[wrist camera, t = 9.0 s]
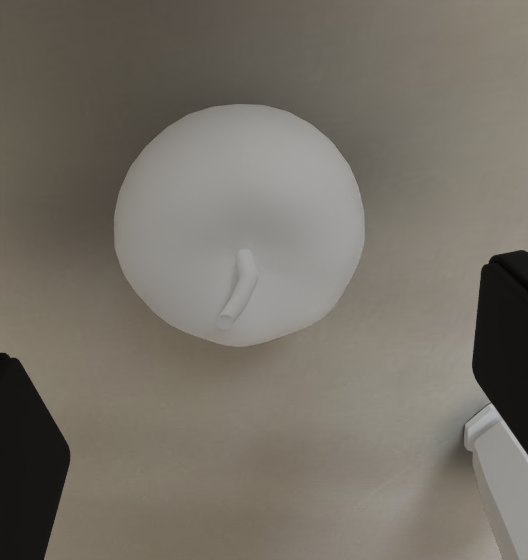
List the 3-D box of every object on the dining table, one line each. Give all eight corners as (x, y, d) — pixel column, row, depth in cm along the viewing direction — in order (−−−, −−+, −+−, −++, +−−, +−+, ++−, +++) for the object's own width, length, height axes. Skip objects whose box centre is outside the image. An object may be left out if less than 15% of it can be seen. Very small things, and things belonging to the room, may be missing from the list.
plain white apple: (115, 80, 15) (48, 168, 8) (339, 77, 16) (446, 156, 9) (144, 272, 19) (114, 440, 12) (324, 263, 19) (390, 416, 13)
